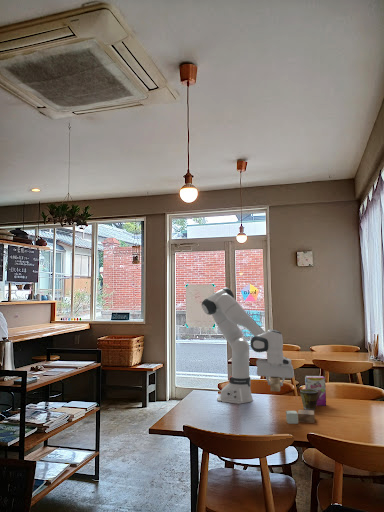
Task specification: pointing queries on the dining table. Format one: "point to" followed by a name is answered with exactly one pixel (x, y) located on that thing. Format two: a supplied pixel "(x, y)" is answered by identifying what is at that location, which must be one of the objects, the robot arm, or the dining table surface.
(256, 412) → the dining table surface
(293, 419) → the grey green block
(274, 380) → the oak block
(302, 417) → the walnut pedestal
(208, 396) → the dining table surface
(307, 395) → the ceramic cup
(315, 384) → the candy bar box
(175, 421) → the dining table surface
